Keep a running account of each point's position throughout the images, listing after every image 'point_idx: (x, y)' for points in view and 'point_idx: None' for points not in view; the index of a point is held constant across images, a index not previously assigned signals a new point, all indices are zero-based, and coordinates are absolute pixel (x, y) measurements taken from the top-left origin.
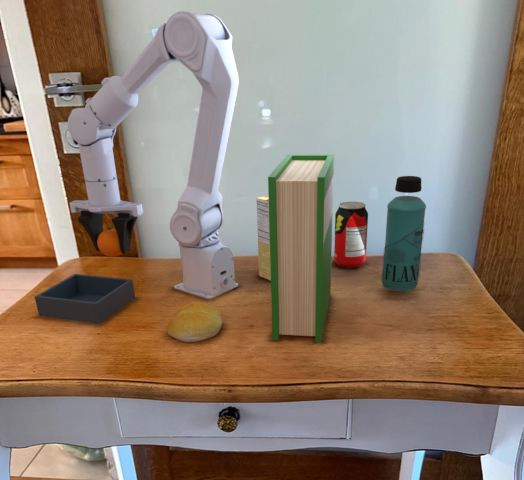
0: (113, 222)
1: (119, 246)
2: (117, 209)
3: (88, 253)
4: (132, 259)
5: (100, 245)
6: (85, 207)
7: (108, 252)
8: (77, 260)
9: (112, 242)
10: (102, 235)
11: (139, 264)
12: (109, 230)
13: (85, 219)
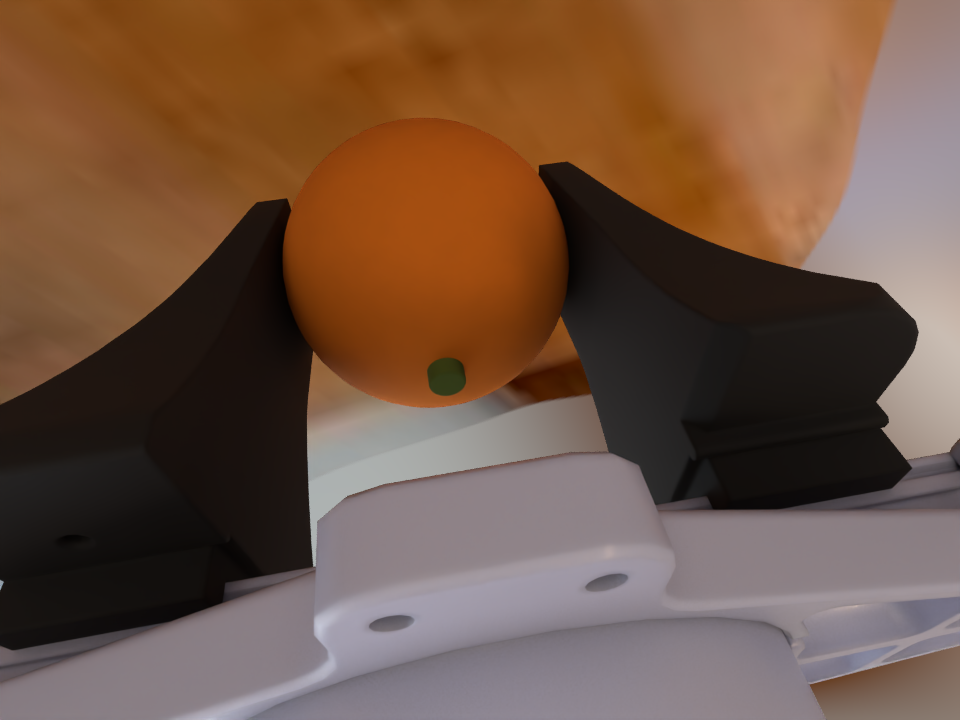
0: (142, 404)
1: (287, 229)
2: (29, 699)
3: None
4: None
5: (465, 144)
6: (837, 546)
7: (374, 127)
8: (796, 248)
9: (319, 212)
10: (465, 249)
11: None
12: (420, 346)
13: (742, 322)
